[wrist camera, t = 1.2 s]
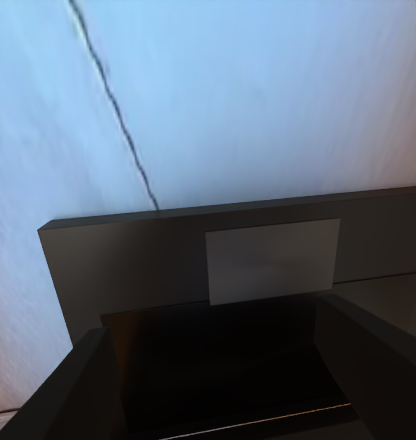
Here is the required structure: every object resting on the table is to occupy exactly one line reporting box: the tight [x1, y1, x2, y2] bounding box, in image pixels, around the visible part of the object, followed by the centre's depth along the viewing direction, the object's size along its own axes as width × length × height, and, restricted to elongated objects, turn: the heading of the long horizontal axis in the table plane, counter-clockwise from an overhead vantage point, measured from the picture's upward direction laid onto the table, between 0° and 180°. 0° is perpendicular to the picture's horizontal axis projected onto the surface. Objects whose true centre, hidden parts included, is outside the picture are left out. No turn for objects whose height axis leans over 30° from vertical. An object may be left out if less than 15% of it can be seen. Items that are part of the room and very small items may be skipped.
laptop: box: [37, 186, 416, 440], centre depth 21 cm, size 21×30×2 cm
